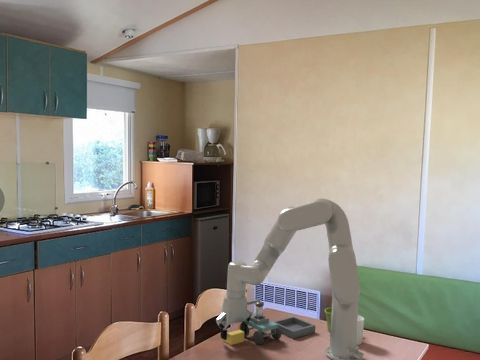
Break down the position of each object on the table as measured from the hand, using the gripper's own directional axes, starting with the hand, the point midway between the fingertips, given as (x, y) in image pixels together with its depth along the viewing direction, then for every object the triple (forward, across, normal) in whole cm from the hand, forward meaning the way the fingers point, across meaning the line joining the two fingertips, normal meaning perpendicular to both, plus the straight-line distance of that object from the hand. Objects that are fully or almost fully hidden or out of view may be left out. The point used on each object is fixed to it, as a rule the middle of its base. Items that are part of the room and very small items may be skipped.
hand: (233, 336), depth 177 cm
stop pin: (-5, -12, +1) cm, 13 cm away
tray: (+2, -29, +5) cm, 29 cm away
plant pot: (+1, -44, +15) cm, 46 cm away
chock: (+2, -1, -1) cm, 3 cm away
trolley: (+2, -12, +3) cm, 12 cm away
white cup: (+1, -41, +27) cm, 49 cm away
